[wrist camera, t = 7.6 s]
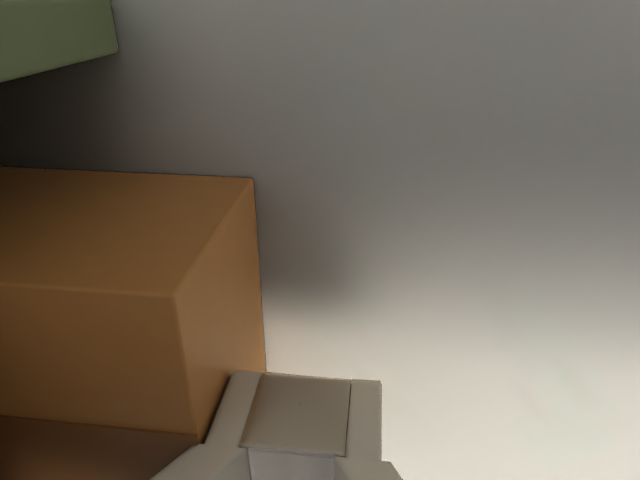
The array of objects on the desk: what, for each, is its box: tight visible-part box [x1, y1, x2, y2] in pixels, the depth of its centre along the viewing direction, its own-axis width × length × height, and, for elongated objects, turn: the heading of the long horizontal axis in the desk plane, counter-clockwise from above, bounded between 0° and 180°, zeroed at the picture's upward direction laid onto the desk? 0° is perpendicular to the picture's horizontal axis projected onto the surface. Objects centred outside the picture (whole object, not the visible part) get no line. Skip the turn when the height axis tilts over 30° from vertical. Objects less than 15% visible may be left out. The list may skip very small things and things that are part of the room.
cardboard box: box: [0, 167, 266, 480], centre depth 9 cm, size 8×6×4 cm
